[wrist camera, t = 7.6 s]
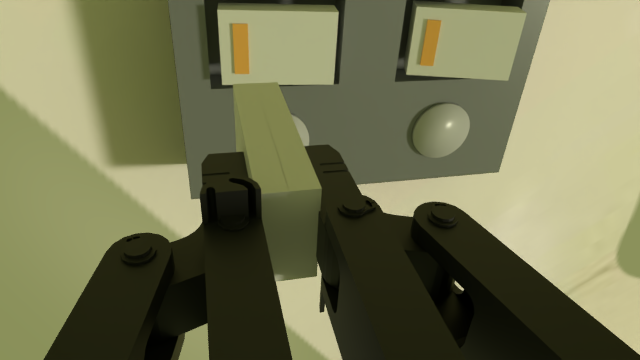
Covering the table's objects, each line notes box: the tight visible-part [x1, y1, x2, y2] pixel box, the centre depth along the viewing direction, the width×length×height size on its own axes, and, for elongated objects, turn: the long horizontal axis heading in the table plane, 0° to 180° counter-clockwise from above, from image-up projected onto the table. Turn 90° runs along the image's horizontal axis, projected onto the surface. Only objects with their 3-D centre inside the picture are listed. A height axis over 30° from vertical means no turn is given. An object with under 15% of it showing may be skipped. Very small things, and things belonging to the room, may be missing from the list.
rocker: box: [403, 1, 527, 81], centre depth 26 cm, size 4×6×2 cm, turn 87°
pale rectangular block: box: [217, 3, 339, 85], centre depth 23 cm, size 4×6×2 cm, turn 87°
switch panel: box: [168, 0, 550, 199], centre depth 28 cm, size 12×20×4 cm, turn 87°
